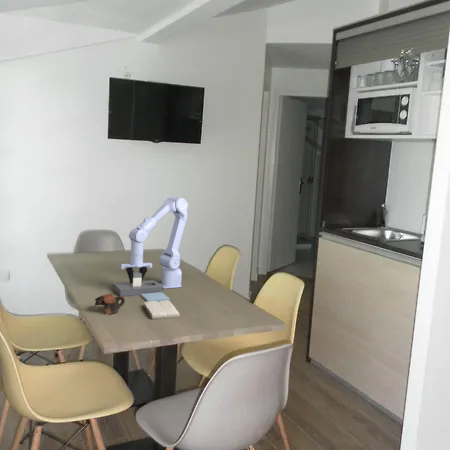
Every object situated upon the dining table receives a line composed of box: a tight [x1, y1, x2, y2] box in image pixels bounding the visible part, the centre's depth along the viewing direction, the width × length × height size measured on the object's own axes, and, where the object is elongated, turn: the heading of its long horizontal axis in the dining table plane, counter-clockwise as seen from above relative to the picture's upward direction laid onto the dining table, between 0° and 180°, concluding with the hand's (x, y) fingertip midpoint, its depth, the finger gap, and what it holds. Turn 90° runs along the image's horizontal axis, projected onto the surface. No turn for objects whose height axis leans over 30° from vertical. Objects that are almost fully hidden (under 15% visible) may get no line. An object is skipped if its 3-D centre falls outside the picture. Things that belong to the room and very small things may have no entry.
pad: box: [140, 291, 171, 302], centre depth 222 cm, size 10×10×1 cm
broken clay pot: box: [94, 293, 126, 315], centre depth 202 cm, size 12×10×8 cm
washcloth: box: [143, 301, 181, 320], centre depth 205 cm, size 12×18×3 cm, turn 22°
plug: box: [130, 270, 142, 287], centre depth 231 cm, size 4×4×9 cm
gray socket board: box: [112, 280, 164, 297], centre depth 232 cm, size 20×12×3 cm, turn 118°
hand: (135, 283), depth 231 cm, fingers closed on plug, 4 cm apart
